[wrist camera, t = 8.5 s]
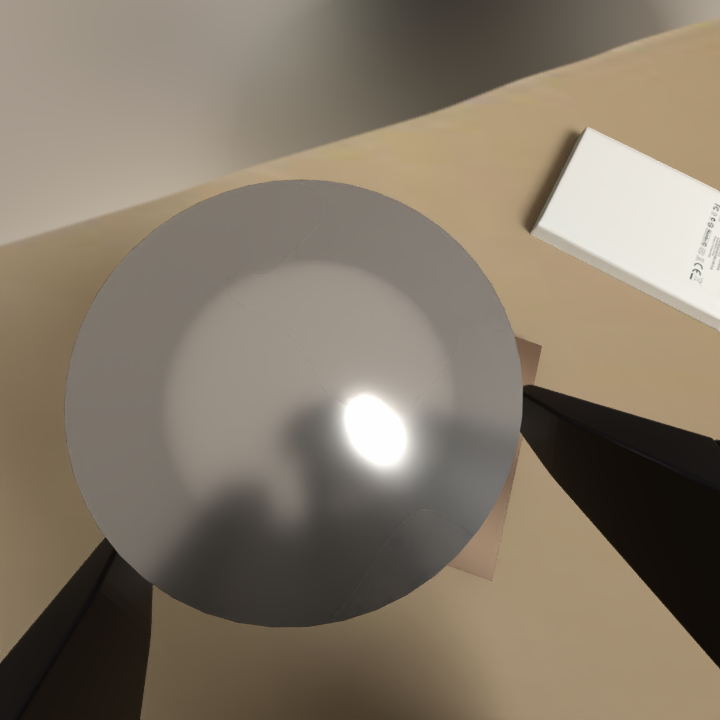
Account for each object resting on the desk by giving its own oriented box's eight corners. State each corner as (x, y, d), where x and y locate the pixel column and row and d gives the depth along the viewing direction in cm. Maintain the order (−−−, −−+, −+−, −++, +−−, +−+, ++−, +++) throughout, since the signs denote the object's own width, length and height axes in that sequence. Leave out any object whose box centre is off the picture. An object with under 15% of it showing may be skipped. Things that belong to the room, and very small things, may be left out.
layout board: (484, 575, 16) (493, 582, 15) (231, 484, 16) (224, 485, 15) (533, 350, 19) (544, 344, 18) (317, 276, 19) (315, 267, 18)
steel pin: (382, 483, 16) (561, 603, 3) (280, 490, 15) (25, 653, 3) (375, 384, 17) (488, 178, 4) (280, 389, 16) (96, 180, 4)
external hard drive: (572, 145, 23) (755, 234, 22) (524, 240, 21) (724, 342, 20) (589, 122, 22) (787, 217, 21) (539, 222, 20) (757, 333, 19)
